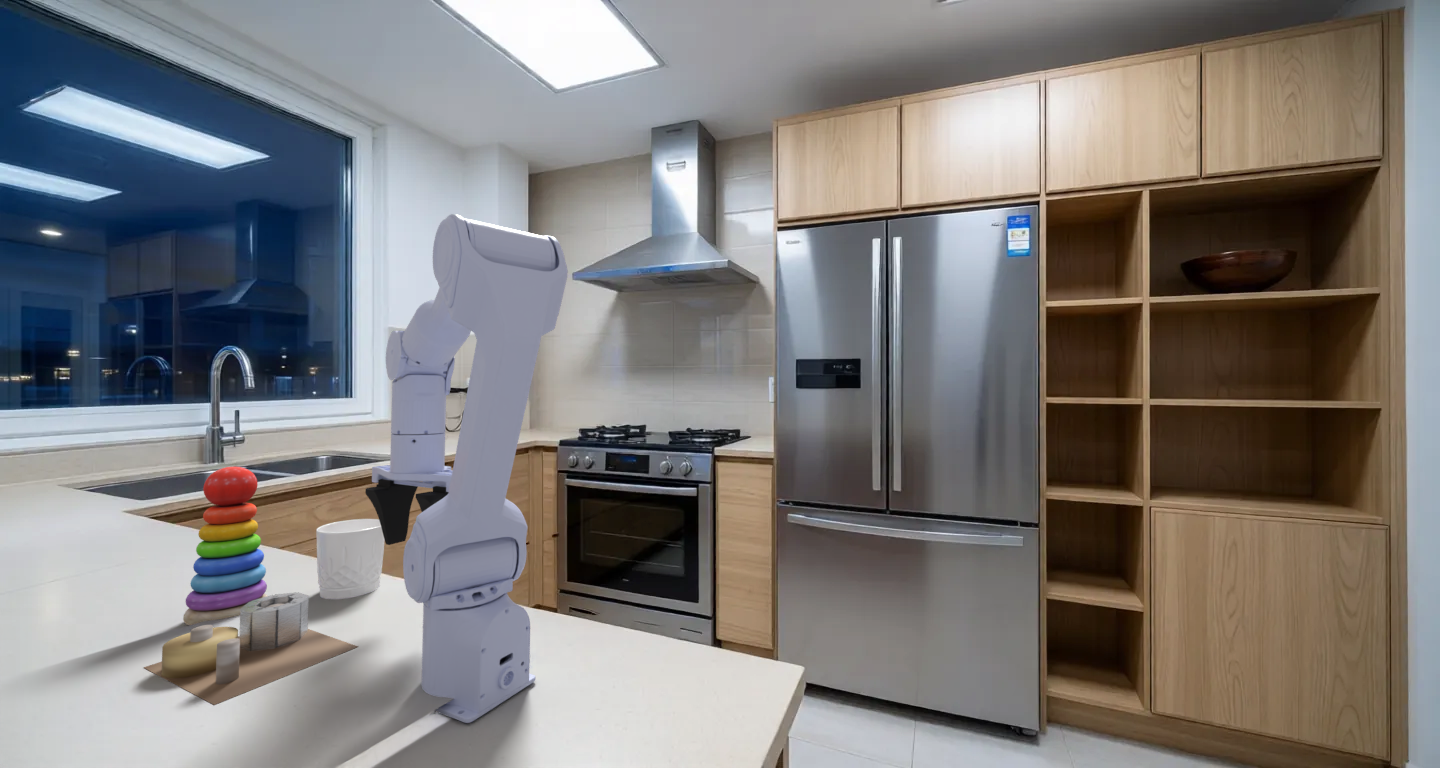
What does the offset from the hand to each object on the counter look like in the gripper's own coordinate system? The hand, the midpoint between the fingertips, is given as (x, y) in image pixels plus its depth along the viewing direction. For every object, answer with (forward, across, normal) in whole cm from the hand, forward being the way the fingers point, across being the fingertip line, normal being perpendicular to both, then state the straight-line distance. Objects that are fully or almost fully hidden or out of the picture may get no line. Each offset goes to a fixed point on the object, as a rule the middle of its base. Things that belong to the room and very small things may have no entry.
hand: (416, 546), depth 64 cm
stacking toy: (+10, +24, +8) cm, 27 cm away
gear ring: (+9, +9, +10) cm, 16 cm away
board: (+10, +6, +13) cm, 17 cm away
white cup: (+10, +17, -2) cm, 20 cm away
